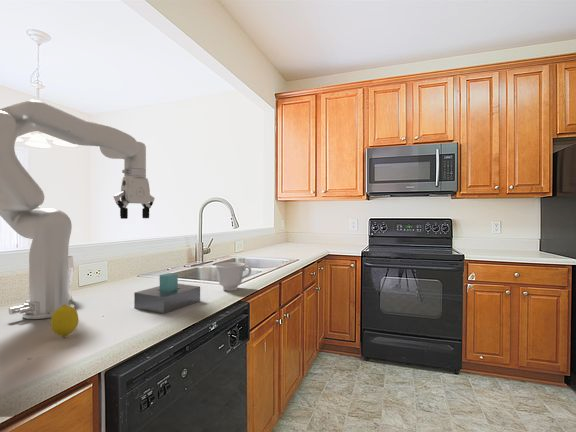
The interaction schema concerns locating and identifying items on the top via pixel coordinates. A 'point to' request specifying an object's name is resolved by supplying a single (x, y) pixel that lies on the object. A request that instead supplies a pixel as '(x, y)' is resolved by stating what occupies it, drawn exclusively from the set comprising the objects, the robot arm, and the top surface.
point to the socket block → (166, 298)
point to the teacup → (231, 274)
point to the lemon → (64, 320)
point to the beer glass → (70, 275)
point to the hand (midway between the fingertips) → (135, 218)
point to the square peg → (168, 282)
